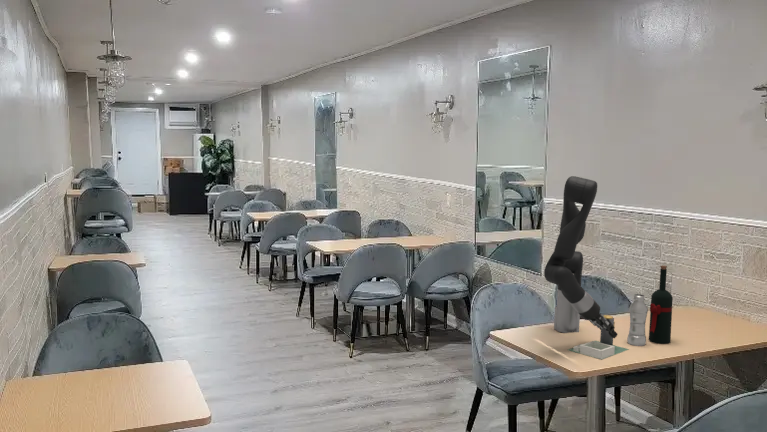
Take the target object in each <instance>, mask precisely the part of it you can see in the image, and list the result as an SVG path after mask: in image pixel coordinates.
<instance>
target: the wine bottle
mask: <svg viewBox="0 0 767 432" xmlns="http://www.w3.org/2000/svg"><path fill="white" fill-rule="evenodd" d="M667 268H668V267H667V265H660V270H659V271H660V272H659V288H658V289H657V290H655V291H653V293H652V294H651V299H650V301H651V302H650V304H649V305H650V306H649V312H650V313H649V314H650V315H649V329H648V342H650V343H653V344H657V345H658V344H659V345H669V344H670V343H671V335H672V317H673V315H672V314H673V300H674V299H673V295H672V293H671V292H670V291H668V290H667V289H666V285H667V272H668V271H667V270H668V269H667Z"/></svg>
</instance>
